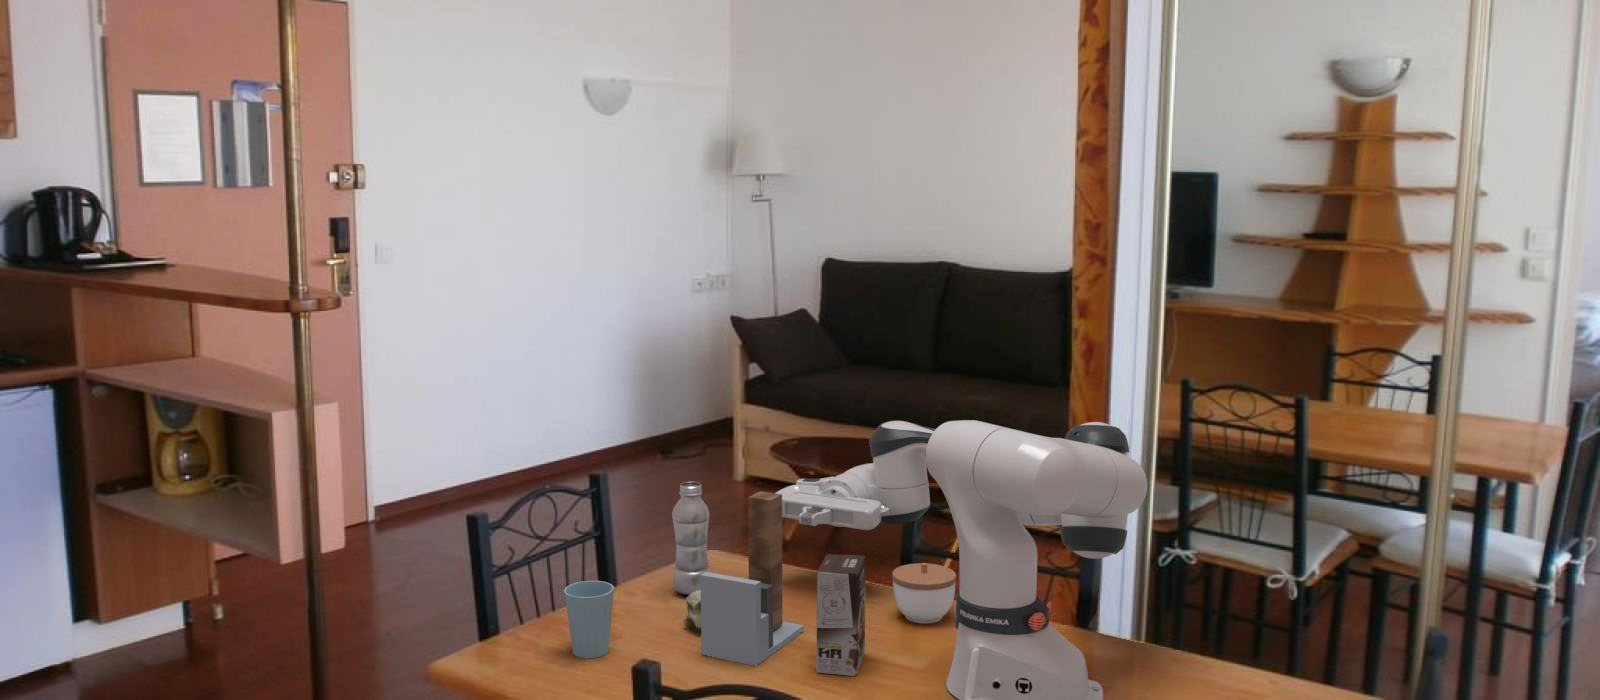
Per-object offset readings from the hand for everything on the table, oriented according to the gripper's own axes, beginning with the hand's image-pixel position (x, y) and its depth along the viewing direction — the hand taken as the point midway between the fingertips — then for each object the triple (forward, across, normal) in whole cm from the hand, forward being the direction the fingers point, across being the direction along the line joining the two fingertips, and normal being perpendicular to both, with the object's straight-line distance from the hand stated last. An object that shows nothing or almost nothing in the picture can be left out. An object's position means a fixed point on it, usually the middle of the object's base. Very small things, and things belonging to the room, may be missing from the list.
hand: (806, 520), depth 215 cm
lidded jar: (-4, -20, -15) cm, 26 cm away
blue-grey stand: (+19, 0, -15) cm, 24 cm away
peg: (+15, 0, -14) cm, 20 cm away
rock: (+16, +10, -16) cm, 25 cm away
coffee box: (+20, -16, -15) cm, 30 cm away
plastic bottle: (+4, +21, -16) cm, 26 cm away
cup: (+34, +21, -16) cm, 43 cm away
